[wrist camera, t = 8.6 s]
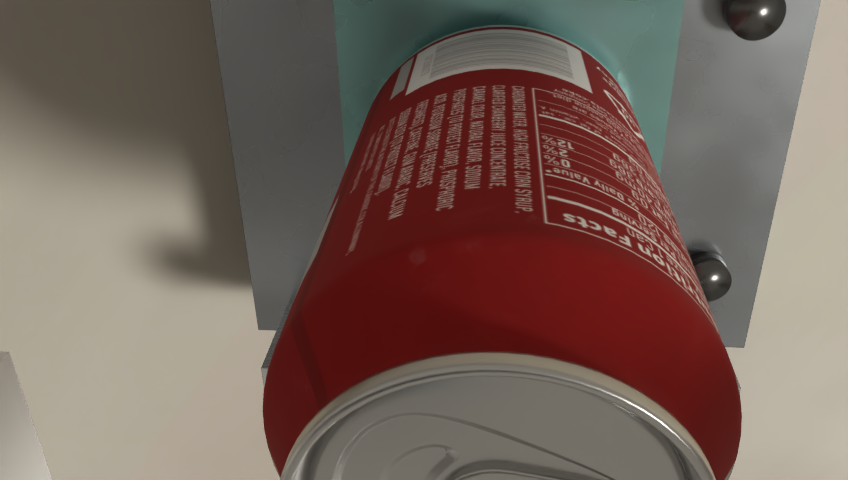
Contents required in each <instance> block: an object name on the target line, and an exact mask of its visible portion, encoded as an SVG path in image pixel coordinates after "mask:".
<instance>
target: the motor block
mask: <svg viewBox="0 0 848 480" xmlns="http://www.w3.org/2000/svg"><path fill="white" fill-rule="evenodd" d="M820 2H821V0H210V4H211V11H212V18H213V25H214V31H215V38H216V45H217V52H218V59H219V65H220V72H221V79H222V86H223V92H224V99H225V106H226V113H227V120H228V126H229V133H230V140H231V147H232V153H233V160H234V167H235V174H236V181H237V187H238V194H239V201H240V208H241V214H242V221H243V228H244V235H245V241H246V248H247V255H248V262H249V269H250V275H251V282H252V289H253V296H254V302H255V309H256V316H257V323H258V330H277V331H276V334H275V336H274V338H273V341H272V343H271V346H270V348H269V350H268V353H267V355H266V358H265V360H264V362H263V365H262V367H261V371H262V378H263V384H264V387H265V381H266V376H267V371H268V368H269V364H270V361H271V358H272V355H273V352H274V349H275V347H276V344H277V342H278V339H279V337H280V334H281V332H282V329H283V326H284V324H285V321H286V319H287V316H288V314H289V311H290V309H291V306H292V304H293V301H294V299H295V296H296V294H297V291H298V289H299V286H300V284H301V281H302V278H303V276H304V273H305V271H306V268H307V266H308V263H309V261H310V258H311V256H312V253H313V251H314V248H315V246H316V243H317V241H318V238H319V236H320V233H321V230H322V228H323V225H324V223H325V220H326V218H327V215H328V213H329V210H330V208H331V205H332V203H333V200H334V198H335V195H336V193H337V190H338V188H339V185H340V182H341V180H342V177H343V175H344V172H345V170H346V167H347V165H348V162H349V160H350V157H351V155H352V152H353V150H354V147H355V145H356V142H357V140H358V137H359V134H360V132H361V129H362V127H363V124H364V122H365V119H366V117H367V114H368V112H369V109H370V107H371V105H372V103H373V101H374V99H375V97H376V95H377V93H378V92H379V90H380V88H381V87H382V85H383V84H384V83H385V81H386V80H387V79H388V77H389V76H390V75H391V74H392V73H393V72H394V71H395V69H396V68H397V67H398V66H399V65H400V64H401V63H403V62H404V61H405V60H406V59H407V58H408V57H409V56H411V55H412V54H414V53H415V52H416V51H418V50H419V49H421V48H422V47H424V46H426V45H427V44H429V43H431V42H433V41H435V40H437V39H439V38H441V37H444V36H446V35H449V34H452V33H454V32H457V31H461V30H465V29H469V28H473V27H480V26H488V25H515V26H524V27H530V28H535V29H539V30H543V31H546V32H550V33H552V34H555V35H557V36H560V37H563V38H565V39H567V40H569V41H571V42H573V43H575V44H576V45H578V46H579V47H581V48H583V49H584V50H586V51H587V52H588V53H590V54H591V55H592V56H594V57H595V58H596V59H597V60H599V61H600V62H601V63H602V64H603V65H604V66H605V67H606V68H607V69H608V70H609V72H610V73H611V74H612V75H613V76H614V78H615V79H616V80H617V82H618V83H619V85H620V86H621V88H622V89H623V91H624V92H625V94H626V96H627V98H628V100H629V102H630V104H631V106H632V109H633V112H634V114H635V117H636V119H637V122H638V124H639V127H640V130H641V132H642V135H643V137H644V140H645V143H646V145H647V148H648V150H649V153H650V155H651V158H652V161H653V163H654V166H655V168H656V171H657V173H658V176H659V179H660V181H661V184H662V186H663V189H664V191H665V194H666V197H667V199H668V202H669V204H670V207H671V210H672V212H673V215H674V217H675V220H676V222H677V225H678V228H679V230H680V233H681V235H682V238H683V240H684V243H685V246H686V248H687V251H688V253H689V256H690V258H691V261H692V264H693V266H694V269H695V271H696V274H697V276H698V279H699V282H700V284H701V287H702V289H703V292H704V295H705V297H706V300H707V302H708V305H709V307H710V310H711V313H712V315H713V318H714V320H715V323H716V325H717V328H718V331H719V333H720V336H721V338H722V341H723V343H724V346H725V347H738V348H744V346H745V341H746V337H747V332H748V328H749V323H750V319H751V314H752V310H753V305H754V301H755V296H756V292H757V287H758V283H759V278H760V273H761V269H762V264H763V260H764V255H765V251H766V246H767V242H768V237H769V233H770V228H771V224H772V219H773V215H774V210H775V206H776V201H777V197H778V192H779V187H780V183H781V178H782V174H783V169H784V165H785V160H786V156H787V151H788V147H789V142H790V138H791V133H792V129H793V124H794V120H795V115H796V111H797V106H798V101H799V97H800V92H801V88H802V83H803V79H804V74H805V70H806V65H807V61H808V56H809V52H810V47H811V43H812V38H813V34H814V29H815V25H816V20H817V15H818V11H819V6H820ZM731 365H732V364H731ZM734 373H735V372H734ZM735 376H736V375H735ZM736 381H737V385H738V389H739V393H740V389H741V388H740V385H739V382H738V380H737V377H736Z"/></svg>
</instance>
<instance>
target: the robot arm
mask: <svg viewBox="0 0 848 480" xmlns="http://www.w3.org/2000/svg"><path fill="white" fill-rule="evenodd" d="M0 480H52V478H51V475H50V472H49V469H48V466H47V463H46V460H45V457H44V454H43V451H42V448H41V445H40V442H39V440H38V437H37V434H36V431H35V428H34V425H33V422H32V419H31V416H30V413H29V410H28V407H27V404H26V401H25V398H24V395H23V392H22V389H21V386H20V383H19V380H18V377H17V374H16V371H15V368H14V365H13V362H12V359H11V356H10V353H9V352H0Z"/></svg>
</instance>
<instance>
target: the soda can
mask: <svg viewBox="0 0 848 480" xmlns="http://www.w3.org/2000/svg"><path fill="white" fill-rule="evenodd" d="M263 418H264V429H265V434H266V439H267V444H268V448H269V451H270V454H271V457H272V460H273V463H274V466H275V468H276V470H277V472H278V475H279V477H280V480H728V479H729V477H730V475H731V473H732V470H733V466H734V463H735V460H736V457H737V453H738V448H739V442H740V437H741V419H742V414H741V403H740V394H739V389H738V385H737V381H736V376H735V373H734V370H733V367H732V365H731V362H730V359H729V357H728V354H727V351H726V349H725V346H724V343H723V341H722V338H721V336H720V333H719V331H718V328H717V325H716V323H715V320H714V318H713V315H712V313H711V310H710V307H709V305H708V302H707V300H706V297H705V295H704V292H703V289H702V287H701V284H700V282H699V279H698V276H697V274H696V271H695V269H694V266H693V264H692V261H691V258H690V256H689V253H688V251H687V248H686V246H685V243H684V240H683V238H682V235H681V233H680V230H679V228H678V225H677V222H676V220H675V217H674V215H673V212H672V210H671V207H670V204H669V202H668V199H667V197H666V194H665V191H664V189H663V186H662V184H661V181H660V179H659V176H658V173H657V171H656V168H655V166H654V163H653V161H652V158H651V155H650V153H649V150H648V148H647V145H646V143H645V140H644V137H643V135H642V132H641V130H640V127H639V124H638V122H637V119H636V117H635V114H634V112H633V109H632V106H631V104H630V102H629V100H628V98H627V96H626V94H625V92H624V91H623V89H622V88H621V86H620V85H619V83H618V82H617V80H616V79H615V78H614V76H613V75H612V74H611V73H610V72H609V70H608V69H607V68H606V67H605V66H604V65H603V64H602V63H601V62H600V61H599V60H597V59H596V58H595V57H594V56H592V55H591V54H590V53H588V52H587V51H586V50H584V49H583V48H581V47H579V46H578V45H576V44H575V43H573V42H571V41H569V40H567V39H565V38H563V37H560V36H557V35H555V34H552V33H550V32H546V31H543V30H539V29H535V28H530V27H524V26H515V25H488V26H480V27H473V28H469V29H465V30H461V31H457V32H454V33H452V34H449V35H446V36H444V37H441V38H439V39H437V40H435V41H433V42H431V43H429V44H427V45H426V46H424V47H422V48H421V49H419V50H418V51H416V52H415V53H414V54H412V55H411V56H409V57H408V58H407V59H406V60H405V61H404V62H403V63H401V64H400V65H399V66H398V67H397V68H396V69H395V71H394V72H393V73H392V74H391V75H390V76H389V77H388V79H387V80H386V81H385V83H384V84H383V85H382V87H381V88H380V90H379V92H378V93H377V95H376V97H375V99H374V101H373V103H372V105H371V107H370V109H369V112H368V114H367V117H366V119H365V122H364V124H363V127H362V129H361V132H360V134H359V137H358V140H357V142H356V145H355V147H354V150H353V152H352V155H351V157H350V160H349V162H348V165H347V167H346V170H345V172H344V175H343V177H342V180H341V182H340V185H339V188H338V190H337V193H336V195H335V198H334V200H333V203H332V205H331V208H330V210H329V213H328V215H327V218H326V220H325V223H324V225H323V228H322V230H321V233H320V236H319V238H318V241H317V243H316V246H315V248H314V251H313V253H312V256H311V258H310V261H309V263H308V266H307V268H306V271H305V273H304V276H303V278H302V281H301V284H300V286H299V289H298V291H297V294H296V296H295V299H294V301H293V304H292V306H291V309H290V311H289V314H288V316H287V319H286V321H285V324H284V326H283V329H282V332H281V334H280V337H279V339H278V342H277V344H276V347H275V349H274V352H273V355H272V358H271V361H270V364H269V368H268V371H267V376H266V381H265V387H264V397H263Z"/></svg>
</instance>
